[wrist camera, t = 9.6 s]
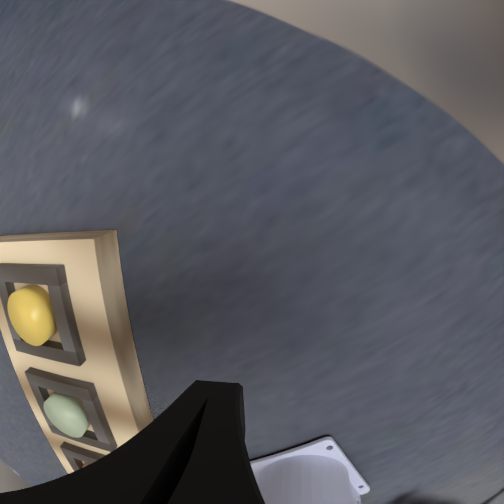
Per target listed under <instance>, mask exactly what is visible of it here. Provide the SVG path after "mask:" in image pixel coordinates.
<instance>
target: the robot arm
mask: <svg viewBox="0 0 504 504" xmlns="http://www.w3.org/2000/svg"><path fill="white" fill-rule="evenodd" d="M244 440H245V416H244V400H243V387H242V386H241V385H240V384H239V383H227V382H212V381H200V380H196V381H195V382H194V383H193V384H192V385H191V386H189V387H188V388H187V389H186V390H185V391H184V392H183V393H182V394H181V395H180V396H179V397H178V398H177V399H176V400H175V401H174V402H173V403H172V404H171V405H170V406H169V407H168V408H167V409H166V410H165V411H163V412H162V413H161V414H160V415H159V416H158V417H157V418H156V419H154V420H153V421H152V422H151V423H150V424H149V425H147V426H146V427H145V428H144V429H142V430H141V431H140V432H139V433H137V434H136V435H135V436H133V437H132V438H131V439H129V440H128V441H127V442H125V443H124V444H122V445H121V446H120V447H118V448H117V449H115V450H114V451H112V452H110V453H109V454H107V455H105V456H104V457H102V458H100V459H99V460H97V461H95V462H93V463H91V464H89V465H87V466H85V467H83V468H81V469H79V470H76V471H74V472H72V473H70V474H67V475H65V476H63V477H60V478H58V479H55V480H52V481H49V482H46V483H43V484H40V485H36V486H33V487H29V488H25V489H21V490H17V491H11V492H5V493H0V504H361V498H360V495H362V494H365V493H367V492H369V491H370V487H369V485H368V484H367V483H366V481H365V480H364V479H363V477H362V476H361V475H360V474H359V472H358V471H357V470H356V468H355V467H354V466H353V464H352V463H351V462H350V461H349V459H348V458H347V457H346V455H345V454H344V453H343V451H342V450H341V449H340V447H339V446H338V445H337V443H336V442H335V441H334V439H333V438H332V437H324V438H321V439H318V440H316V441H313V442H310V443H307V444H305V445H302V446H299V447H296V448H293V449H290V450H287V451H284V452H281V453H277V454H274V455H271V456H268V457H264V458H261V459H257V460H254V461H250V460H249V457H248V453H247V449H246V445H245V441H244Z"/></svg>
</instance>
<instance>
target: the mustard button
mask: <svg viewBox="0 0 504 504" xmlns="http://www.w3.org/2000/svg"><path fill="white" fill-rule="evenodd" d="M7 308H8V315H9V318H10V321H11V323H12V325H13V327H14V329H15V331H16V332H17V333H18V335H19V336H20V337H21V338H22V339H23V340H24V341H26V342H27V343H29V344H31V345H33V346H40V345H42V344H43V343H45V342H46V341H47V340H48V339H50V338H51V337H52V336H53V335H55V334H56V333H57V331H58V329H57V325H56V321H55V317H54V313H53V309H52V305H51V301H50V296H49V294H48V293H47V292H46V291H45V290H44V289H43V288H41V287H40V286H38V285H35V284H29V285H27V286H25V287H23V288H21V289H19V290H17V291H15V292H14V293H12V294H11V295H10V297H9V299H8V304H7Z"/></svg>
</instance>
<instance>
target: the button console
mask: <svg viewBox="0 0 504 504" xmlns="http://www.w3.org/2000/svg"><path fill="white" fill-rule="evenodd" d="M29 284H35V285H38V286H40V287H41V288H43V289H44V290H45V291H46V292H47V293H48V294H49V296H50V301H51V305H52V309H53V313H54V317H55V321H56V325H57V329H58V331H57V333H56V334H55V335H53V336H52V337H51V338H50V339H48V340H47V341H46V342H45V343H43V344H42V345H40V346H33V345H31V344H29V343H27V342H26V341H24V340H23V339H22V338H21V337H20V336H19V335H18V333H17V332H16V331H15V329H14V327H13V325H12V323H11V321H10V318H9V315H8V308H7V304H8V299H9V297H10V295H11V294H12V293H14V292H15V291H17V290H19V289H21V288H23V287H25V286H27V285H29ZM0 329H1V332H2V335H3V338H4V341H5V344H6V347H7V350H8V353H9V355H10V358H11V361H12V363H13V366H14V369H15V371H16V374H17V376H18V378H19V381H20V383H21V386H22V388H23V390H24V393H25V395H26V397H27V399H28V401H29V403H30V406H31V408H32V410H33V412H34V414H35V416H36V418H37V420H38V422H39V424H40V426H41V428H42V430H43V431H44V433H45V435H46V437H47V439H48V441H49V442H50V444H51V446H52V448H53V449H54V451H55V453H56V455H57V456H58V458H59V460H60V461H61V463H62V464H63V466H64V468H65V469H66V471H67V472H68V474H70V473H72V472H74V471H76V470H79V469H81V468H82V467H83V465H84V464H85V462H87V463H90V464H91V463H93V462H95V461H97V460H99V459H100V458H102V457H104V456H105V455H107V454H109V453H110V452H112V451H114V450H115V449H117V448H118V447H120V446H121V445H122V444H124V443H125V442H127V441H128V440H129V439H131V438H132V437H133V436H135V435H136V434H137V433H139V432H140V431H141V430H142V429H144V428H145V427H146V426H147V425H149V424H150V423H151V422H152V421H153V417H152V413H151V410H150V406H149V402H148V399H147V395H146V391H145V387H144V383H143V379H142V375H141V371H140V367H139V362H138V358H137V354H136V349H135V344H134V340H133V335H132V330H131V325H130V319H129V314H128V308H127V303H126V297H125V290H124V284H123V277H122V271H121V263H120V256H119V248H118V239H117V230H101V231H78V232H57V233H38V234H21V235H5V236H0ZM54 391H55V392H59V393H62V394H65V395H69V396H73V397H76V398H79V399H80V400H81V401H82V404H83V406H84V409H85V411H86V414H87V416H88V419H89V421H90V423H91V425H90V426H89V427H88V429H87V430H86V432H85V433H84V434H83V436H82V437H79V438H75V437H71V436H69V435H67V434H65V433H63V432H62V431H60V430H59V429H58V428H57V427H56V426H54V425H53V423H52V422H51V421H50V420H49V418H48V417H47V415H46V413H45V411H44V402H45V401H46V400H47V399H48V398H49V397H50V396H51V395H52V394H53V392H54Z"/></svg>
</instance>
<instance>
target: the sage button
mask: <svg viewBox="0 0 504 504" xmlns="http://www.w3.org/2000/svg"><path fill="white" fill-rule="evenodd" d="M44 411H45V413H46V415H47V417H48V418H49V420H50V421H51V422H52V423H53V425H54V426H56V427H57V428H58V429H59V430H60V431H62V432H63V433H65V434H67V435H69V436H71V437H75V438H79V437H82V436H83V434H84V433H85V432H86V430H87V429H88V427H89V426H90V425H91V423H90V421H89V419H88V416H87V414H86V411H85V409H84V406H83V404H82V401H81V400H80V399H79V398H76V397H73V396H69V395H65V394H62V393H59V392H55V391H54V392H53V394H52V395H51V396H50V397H49V398H48V399H47V400H46V401H45V402H44Z"/></svg>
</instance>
